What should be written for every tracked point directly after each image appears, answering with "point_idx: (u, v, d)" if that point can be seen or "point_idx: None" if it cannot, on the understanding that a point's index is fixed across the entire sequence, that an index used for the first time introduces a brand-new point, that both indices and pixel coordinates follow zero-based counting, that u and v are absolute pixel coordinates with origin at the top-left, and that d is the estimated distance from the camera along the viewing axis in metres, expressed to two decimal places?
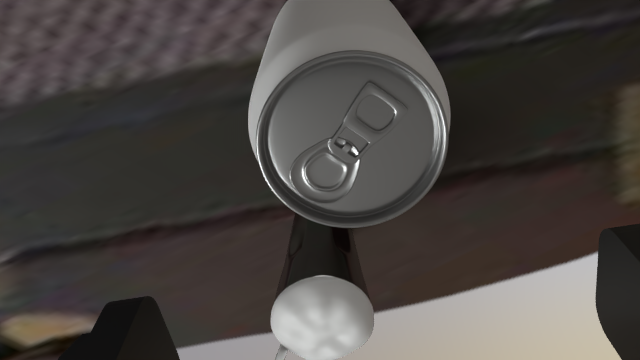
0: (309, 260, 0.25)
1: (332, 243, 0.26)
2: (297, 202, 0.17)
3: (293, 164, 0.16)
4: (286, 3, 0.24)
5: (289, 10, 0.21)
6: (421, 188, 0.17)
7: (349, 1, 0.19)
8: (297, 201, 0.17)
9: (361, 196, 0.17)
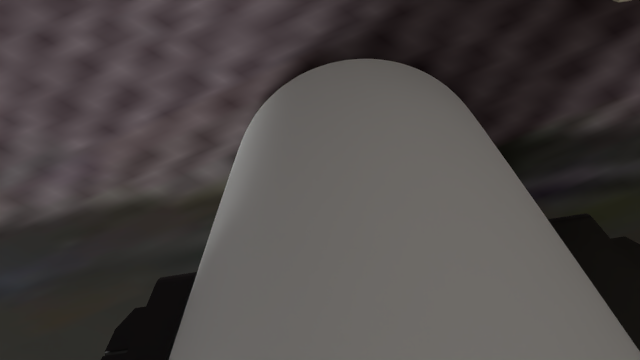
0: None
1: None
2: None
3: None
4: (262, 112, 0.12)
5: (260, 162, 0.09)
6: None
7: (414, 196, 0.07)
8: None
9: None
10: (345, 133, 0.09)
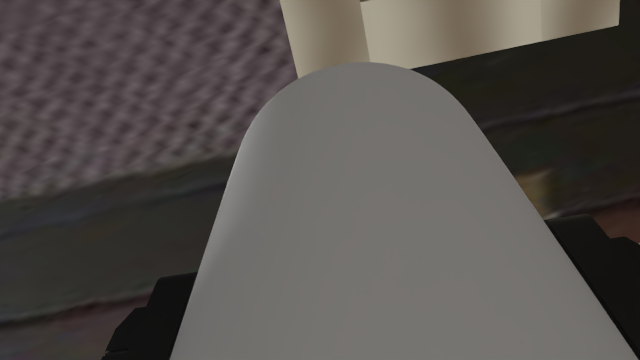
0: None
1: None
2: None
3: None
4: (261, 116, 0.12)
5: (259, 166, 0.09)
6: None
7: (412, 201, 0.07)
8: None
9: None
10: (344, 137, 0.09)
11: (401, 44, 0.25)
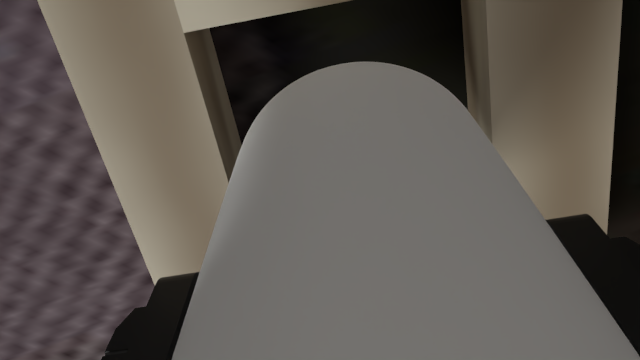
0: None
1: None
2: None
3: None
4: (263, 115, 0.12)
5: (261, 166, 0.09)
6: None
7: (414, 200, 0.07)
8: None
9: None
10: (346, 136, 0.09)
11: None
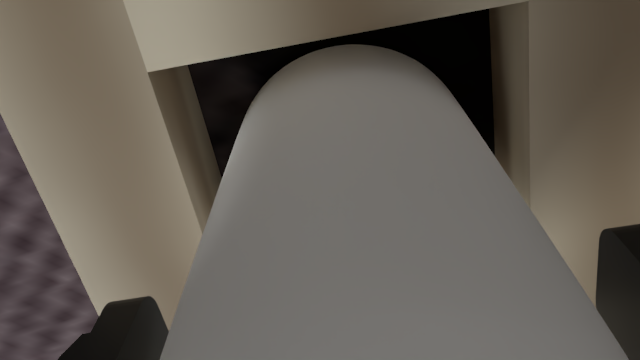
0: None
1: None
2: None
3: None
4: (262, 93, 0.14)
5: (260, 131, 0.11)
6: None
7: (388, 148, 0.08)
8: None
9: None
10: (334, 103, 0.10)
11: None
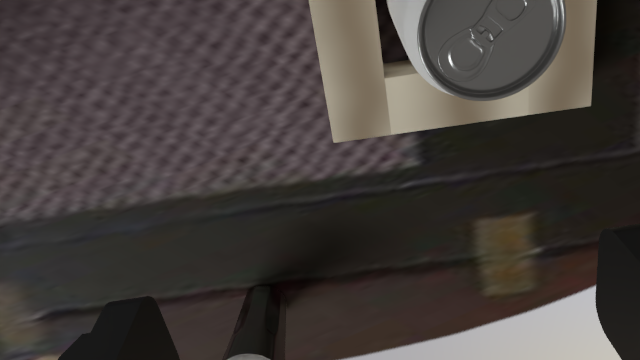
0: (244, 340, 0.36)
1: (263, 326, 0.37)
2: (441, 79, 0.22)
3: (442, 46, 0.21)
4: None
5: None
6: (539, 69, 0.22)
7: None
8: (440, 79, 0.22)
9: (490, 76, 0.22)
10: None
11: (415, 111, 0.32)
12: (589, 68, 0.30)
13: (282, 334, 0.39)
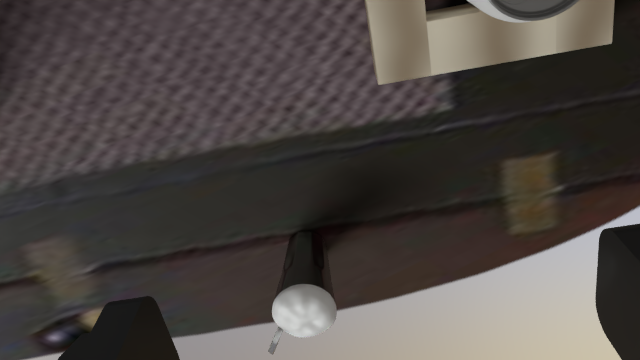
0: (296, 274, 0.39)
1: (311, 262, 0.40)
2: (496, 2, 0.25)
3: None
4: None
5: None
6: None
7: None
8: (495, 2, 0.25)
9: None
10: None
11: (453, 52, 0.35)
12: (610, 8, 0.34)
13: (328, 271, 0.42)
